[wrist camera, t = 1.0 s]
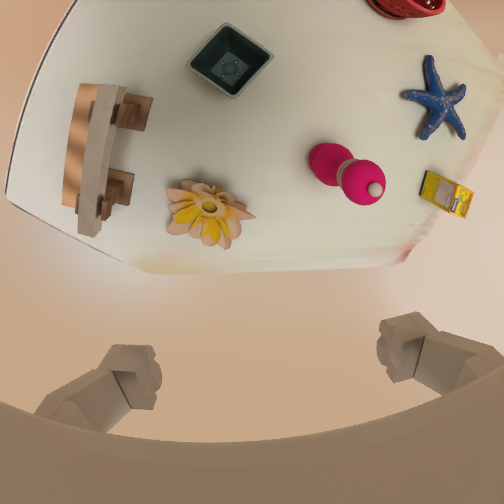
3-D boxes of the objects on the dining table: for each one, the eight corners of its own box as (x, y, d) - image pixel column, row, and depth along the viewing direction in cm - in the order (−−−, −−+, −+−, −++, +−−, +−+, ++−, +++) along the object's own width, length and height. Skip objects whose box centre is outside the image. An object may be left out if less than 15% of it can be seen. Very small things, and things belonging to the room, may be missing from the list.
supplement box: (435, 200, 52) (465, 219, 43) (418, 195, 52) (448, 213, 42) (442, 176, 50) (474, 192, 40) (425, 169, 49) (458, 184, 39)
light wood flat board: (82, 83, 36) (80, 83, 35) (108, 86, 37) (107, 85, 36) (63, 203, 46) (61, 204, 45) (87, 209, 47) (85, 210, 47)
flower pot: (192, 74, 38) (183, 65, 30) (226, 36, 35) (225, 20, 27) (233, 103, 41) (234, 100, 33) (267, 65, 38) (275, 55, 31)
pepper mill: (308, 182, 49) (353, 225, 31) (303, 143, 46) (349, 166, 28) (345, 175, 49) (402, 214, 31) (341, 138, 45) (402, 159, 28)
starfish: (452, 58, 36) (467, 57, 32) (464, 135, 45) (478, 139, 41) (388, 53, 37) (402, 50, 33) (405, 143, 46) (419, 147, 42)
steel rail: (108, 85, 29) (99, 83, 27) (126, 87, 30) (119, 85, 27) (85, 225, 39) (77, 233, 36) (101, 229, 39) (94, 237, 37)
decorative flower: (149, 221, 48) (143, 235, 39) (177, 165, 46) (177, 166, 37) (220, 254, 54) (231, 274, 45) (249, 202, 52) (265, 211, 43)
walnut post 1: (121, 93, 38) (92, 90, 28) (153, 98, 39) (130, 94, 29) (113, 125, 41) (83, 131, 30) (144, 131, 42) (119, 137, 32)
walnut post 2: (105, 167, 44) (75, 185, 34) (134, 174, 45) (110, 193, 35) (101, 197, 47) (73, 221, 36) (129, 204, 48) (105, 230, 38)
